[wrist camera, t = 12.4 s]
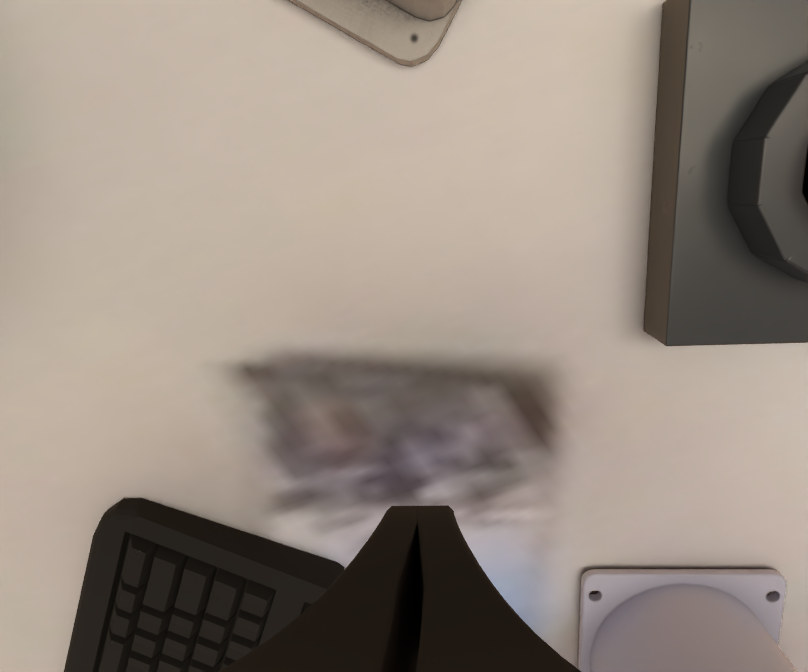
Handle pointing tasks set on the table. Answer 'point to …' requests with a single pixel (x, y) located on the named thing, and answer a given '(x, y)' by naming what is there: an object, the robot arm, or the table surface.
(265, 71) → the table surface
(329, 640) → the robot arm
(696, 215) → the button box
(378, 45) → the emergency button
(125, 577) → the keyboard
